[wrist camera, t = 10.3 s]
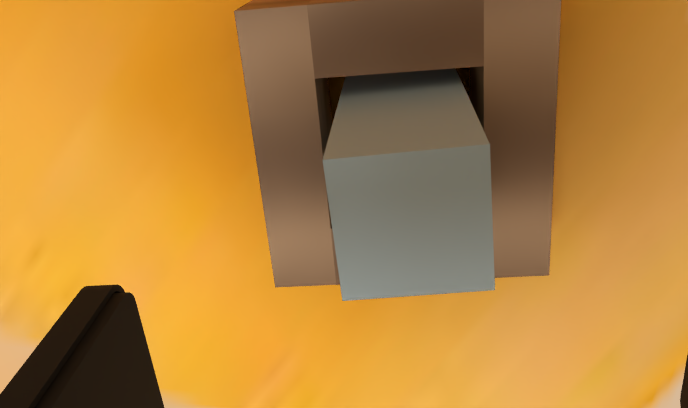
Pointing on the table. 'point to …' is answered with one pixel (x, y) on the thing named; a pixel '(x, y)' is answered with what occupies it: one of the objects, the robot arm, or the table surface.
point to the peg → (409, 187)
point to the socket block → (392, 57)
